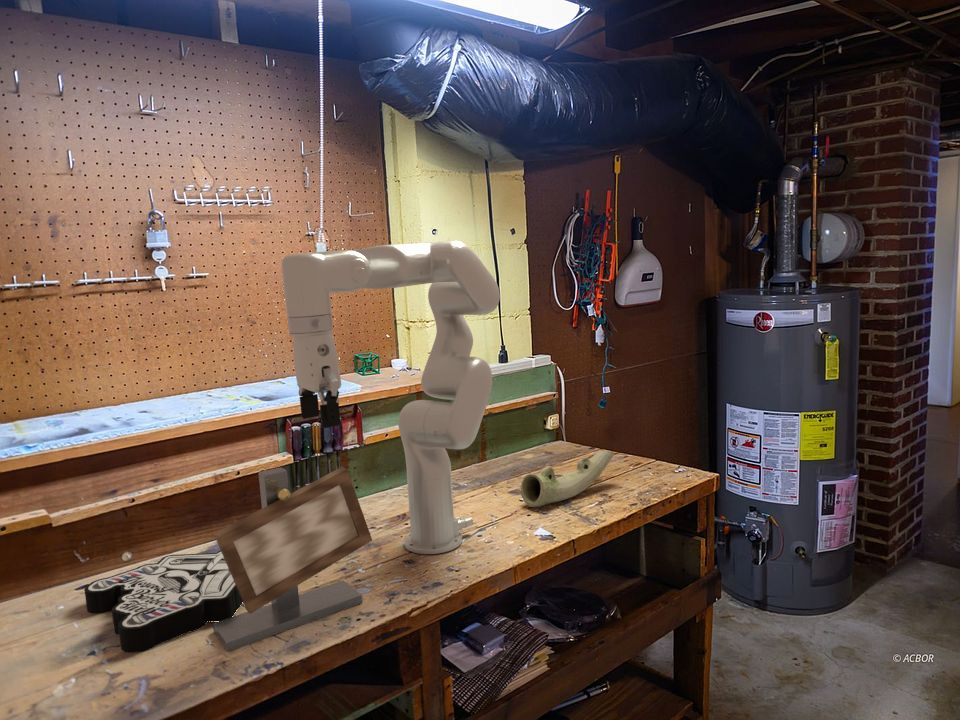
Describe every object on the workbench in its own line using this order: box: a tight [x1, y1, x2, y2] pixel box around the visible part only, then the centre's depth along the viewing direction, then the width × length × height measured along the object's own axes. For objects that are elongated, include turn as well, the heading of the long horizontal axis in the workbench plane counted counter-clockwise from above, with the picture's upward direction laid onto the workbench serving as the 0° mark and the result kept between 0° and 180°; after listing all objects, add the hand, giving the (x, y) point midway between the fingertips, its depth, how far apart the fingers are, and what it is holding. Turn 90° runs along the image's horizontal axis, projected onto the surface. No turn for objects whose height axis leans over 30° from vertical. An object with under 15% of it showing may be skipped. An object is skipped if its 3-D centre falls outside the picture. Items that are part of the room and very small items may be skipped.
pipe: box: [520, 449, 615, 508], centre depth 174 cm, size 28×8×10 cm, turn 131°
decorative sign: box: [84, 549, 243, 654], centre depth 129 cm, size 28×4×30 cm
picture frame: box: [213, 466, 373, 614], centre depth 119 cm, size 24×2×15 cm, turn 126°
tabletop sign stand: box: [212, 467, 363, 652], centre depth 118 cm, size 24×8×26 cm, turn 126°
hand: (320, 421), depth 121 cm, fingers open, 9 cm apart
